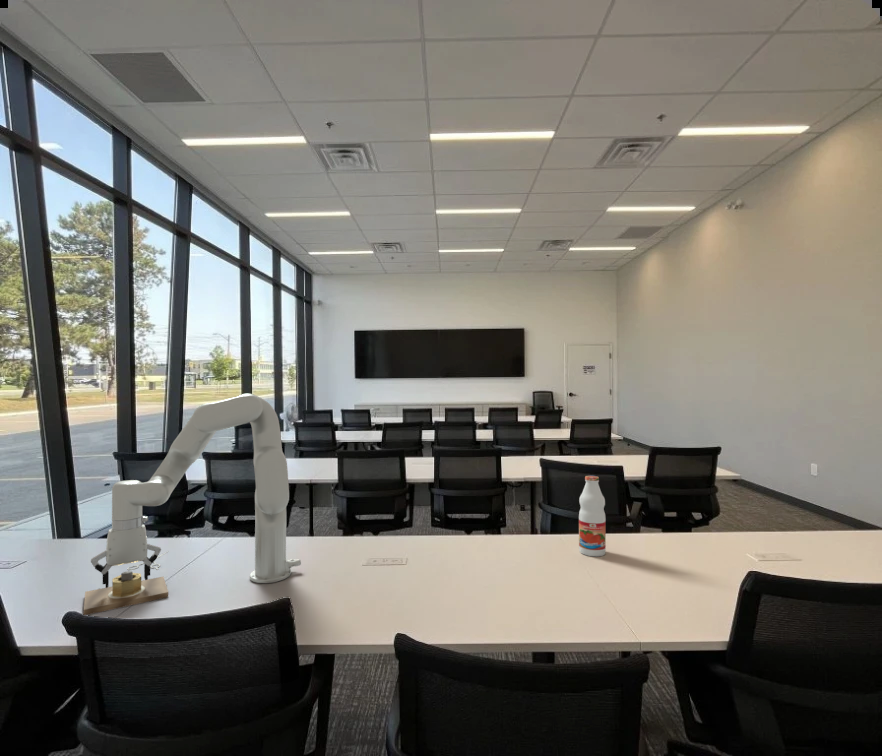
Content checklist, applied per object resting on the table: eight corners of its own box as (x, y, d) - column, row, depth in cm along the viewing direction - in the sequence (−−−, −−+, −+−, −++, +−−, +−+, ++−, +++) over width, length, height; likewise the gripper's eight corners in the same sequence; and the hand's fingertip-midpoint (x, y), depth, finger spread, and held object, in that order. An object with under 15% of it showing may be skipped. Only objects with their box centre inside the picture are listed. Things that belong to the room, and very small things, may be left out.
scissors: (123, 571, 162) (148, 550, 182) (123, 573, 162) (148, 552, 182) (158, 569, 164) (179, 548, 184) (158, 571, 164) (179, 550, 184)
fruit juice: (606, 550, 184) (605, 475, 184) (605, 558, 175) (605, 479, 175) (579, 547, 187) (579, 473, 187) (577, 555, 178) (577, 478, 178)
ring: (139, 584, 148) (140, 571, 148) (141, 592, 142) (141, 578, 142) (112, 590, 144) (112, 576, 144) (112, 598, 138) (112, 584, 138)
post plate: (163, 581, 155) (163, 558, 155) (168, 597, 143) (168, 573, 143) (85, 596, 143) (85, 572, 143) (83, 615, 132) (83, 589, 132)
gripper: (159, 516, 151) (159, 571, 151) (91, 525, 142) (90, 584, 141) (162, 521, 145) (162, 579, 145) (90, 531, 135) (90, 594, 135)
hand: (126, 582), depth 143 cm, fingers open, 9 cm apart
